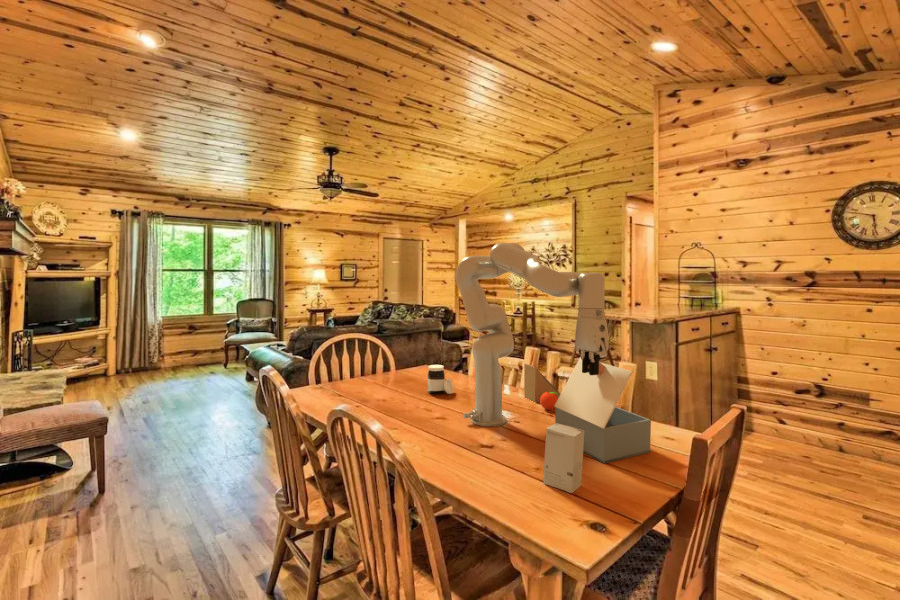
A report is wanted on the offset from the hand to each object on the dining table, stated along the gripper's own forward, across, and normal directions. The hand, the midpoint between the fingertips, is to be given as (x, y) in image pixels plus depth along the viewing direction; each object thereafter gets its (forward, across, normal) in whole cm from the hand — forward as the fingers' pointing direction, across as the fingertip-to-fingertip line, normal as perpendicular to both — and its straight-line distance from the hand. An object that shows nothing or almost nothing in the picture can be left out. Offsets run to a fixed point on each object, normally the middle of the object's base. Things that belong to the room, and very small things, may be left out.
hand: (590, 373), depth 138 cm
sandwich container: (+24, +48, -19) cm, 57 cm away
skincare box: (+23, -16, +22) cm, 36 cm away
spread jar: (+23, +76, +17) cm, 81 cm away
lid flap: (+5, 0, -1) cm, 6 cm away
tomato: (+23, +35, -12) cm, 44 cm away
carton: (+23, 0, -4) cm, 24 cm away
